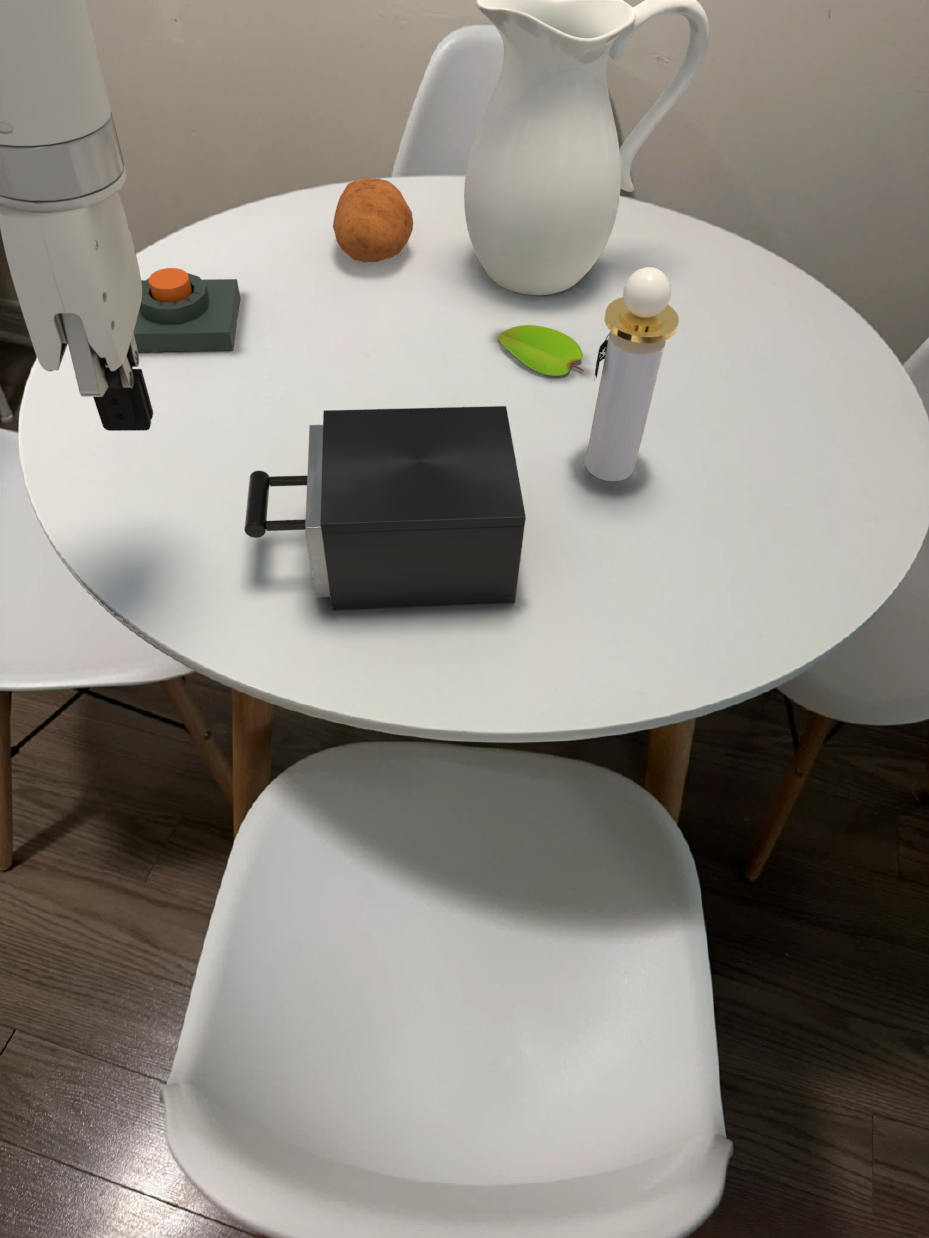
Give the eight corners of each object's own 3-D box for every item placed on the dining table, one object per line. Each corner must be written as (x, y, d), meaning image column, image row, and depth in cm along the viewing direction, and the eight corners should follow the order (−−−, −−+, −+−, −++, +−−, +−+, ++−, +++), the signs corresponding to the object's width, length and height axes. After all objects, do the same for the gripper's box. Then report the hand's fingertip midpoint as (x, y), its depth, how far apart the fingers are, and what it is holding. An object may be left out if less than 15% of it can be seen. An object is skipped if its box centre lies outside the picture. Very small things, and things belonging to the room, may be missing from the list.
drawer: (252, 600, 69) (234, 530, 63) (261, 498, 77) (246, 426, 70) (485, 590, 71) (491, 521, 65) (473, 491, 78) (477, 420, 72)
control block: (114, 353, 90) (103, 318, 87) (129, 298, 96) (119, 264, 93) (233, 350, 91) (226, 316, 88) (240, 297, 97) (234, 263, 94)
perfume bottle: (650, 466, 82) (703, 266, 67) (621, 500, 79) (669, 300, 64) (596, 442, 84) (635, 242, 68) (566, 474, 81) (600, 274, 65)
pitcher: (473, 315, 97) (488, 24, 75) (451, 237, 107) (458, -39, 85) (681, 303, 100) (753, 21, 78) (640, 228, 110) (693, -40, 88)
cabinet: (332, 610, 70) (320, 524, 63) (333, 499, 78) (323, 410, 70) (515, 602, 71) (525, 517, 64) (498, 493, 79) (506, 405, 72)
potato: (419, 233, 107) (419, 170, 102) (405, 282, 100) (404, 218, 95) (345, 226, 108) (340, 163, 102) (326, 274, 101) (320, 210, 95)
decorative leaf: (523, 387, 90) (524, 380, 89) (493, 335, 94) (493, 327, 94) (592, 370, 91) (593, 362, 90) (559, 319, 96) (559, 312, 95)
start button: (149, 304, 90) (145, 289, 88) (155, 283, 92) (151, 267, 91) (189, 304, 90) (186, 288, 89) (194, 283, 92) (190, 267, 91)
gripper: (10, 96, 52) (94, 361, 66) (-65, 219, 43) (51, 497, 57) (140, 100, 53) (195, 361, 67) (94, 222, 44) (170, 495, 58)
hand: (129, 423), depth 62 cm, fingers closed
